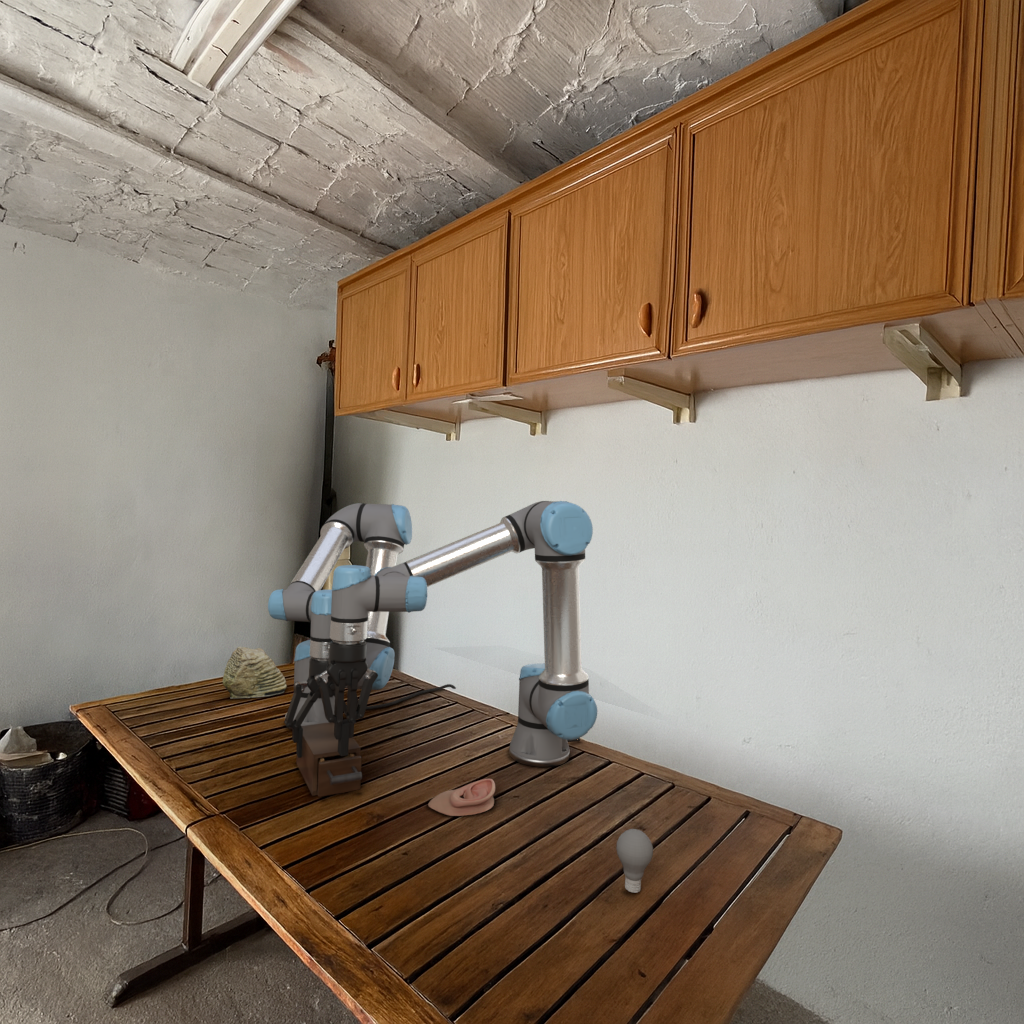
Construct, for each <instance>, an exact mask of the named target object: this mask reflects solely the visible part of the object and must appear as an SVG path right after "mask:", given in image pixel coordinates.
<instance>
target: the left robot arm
mask: <svg viewBox="0 0 1024 1024" xmlns="http://www.w3.org/2000/svg"><path fill="white" fill-rule="evenodd" d="M412 522H413V521H412V516H411V512H410V510H409V509H408V508H407V507H406V506H405V505H400V504H394V503H392V504H386V503H385V504H384V503H364V502H359V503H358V502H357V503H352V504H349V505H347V506H345V507H343V508H341V509H339V510H337V511H336V512H334V513H333V514H332V515H331V516H330V517H329V518H328V519H326V521H325V522H324V524H323V525H322V526H321V528H320V534H319V535H320V537H319V538H318V539H317V541H316V543H315V544H314V546H313V548H312V549H311V551H310V552H309V553H308V555H307V557H306V558H305V560H304V561H303V563H302V564H301V566H300V568H299V569H298V571H297V573H296V574H295V576H294V577H293V579H292V580H291V582H290V583H289V585H288V586H287V588H286V589H284V588H281V589H275V590H273V591H272V592H271V593H270V595H269V598H268V602H267V610H268V615H269V616H270V617H271V618H272V619H273V620H279V621H286V622H291V621H292V622H309V623H310V639H307V640H304V641H302V642H299V643H298V644H297V645H296V647H295V654H294V659H293V661H294V670H293V671H294V672H293V694H292V697H291V699H290V703H289V706H288V709H287V712H286V713H285V716H284V722H283V723H284V725H285V726H286V728H287V729H289V730H291V732H292V733H291V736H292V737H291V739H292V742H293V743H296V745H295V746H296V749H295V754H296V757H297V756H298V758H301V757H302V740H303V728H302V727H301V726H306V725H314V724H321V723H329V722H328V720H327V719H326V717H325V713H324V708H323V703H322V698H321V693H320V688H319V685H318V683H317V682H316V680H315V679H314V677H315V675H320V674H321V673H323V672H324V671H326V666H327V665H328V662H329V643H330V642H331V641H332V640H331V639H330V625H331V602H332V589H322V588H323V587H324V585H325V583H326V581H327V580H328V578H329V576H330V575H331V573H332V571H333V569H334V568H335V566H336V564H337V563H338V561H339V559H340V557H341V555H342V554H343V553H344V550H345V549H348V548H349V547H350V546H351V545H352V543H357V542H360V543H361V542H362V543H363V547H364V548H365V549H366V551H367V556H366V561H365V566H367V567H369V568H370V573H371V575H373V576H374V575H375V574H376V572H377V571H379V570H380V569H382V568H385V567H394V566H396V565H397V561H398V556H400V554H402V553H403V552H404V548H405V545H406V546H407V545H410V544H411V542H412V539H413V523H412ZM389 614H390V612H369V613H368V627H367V638H366V639H365V641H366V643H367V650H366V663H367V665H368V668H369V669H370V670H374V671H375V672H376V673H377V674H378V677H377V678H376V680H375V681H374V683H373V685H372V689H371V691H379V690H382V689H383V688H384V687H385V686H386V685H387V684H388V683H389V681H390V678H391V677H392V676H391V675H392V673H393V670H394V666H395V657H396V655H395V650H394V648H392V647H391V646H390V645H391V641H390V640H389V639H388V637H387V628H388V620H389ZM364 676H365V674H364V675H363V677H362V678H361V679H360V681H359V682H358V685H357V690H362V686H363V683H364V680H365V677H364ZM326 685H327V687H328V692H329V697H330V702H331V706H332V711H333V715H334V707H335V683H334V682H333V680H332V679H331V678H330V676H328V682H327V683H326ZM447 688H451V689H452V690H456V689H457V687H456V686H455V685H454V684H450V683H447V684H444V685H441V686H438V687H433V688H428V689H424V690H420V691H417V692H414V693H411V694H408V695H407V696H404V697H401V698H399V699H396V700H393V701H390V702H385V703H382V704H375V705H367V707H366V710H365V711H369V710H375V709H382V708H386V707H390V706H393V705H397V704H400V703H402V702H405V701H406V700H410V699H412V698H414V697H417V696H419V695H423V694H427V693H432V692H436V691H442V690H444V689H447ZM345 689H348V687H347V686H345ZM358 700H359V697H358V695H357V692H356V707H357V704H358ZM343 714H344V715H345V716H346V715H347V702H346V701H345V700H344V705H343ZM343 720H347V718H343Z"/></svg>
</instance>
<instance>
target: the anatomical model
mask: <svg viewBox="0 0 1024 1024" xmlns="http://www.w3.org/2000/svg"><path fill="white" fill-rule="evenodd" d="M495 793H496V783H495V781H494V779H492V778H483V779H480V780H477V781H473V782H470V783H468V784H465V785H464V786H461V787H459V788H456V789H451V790H446V791H443V792H441V793H439V794H437V795H436V796H434V797H433V798H431V800H429V802H428V804H427V805H428V808H430V809H431V810H434V811H436V812H438V813H439V814H443V815H446V816H450V817H461V816H472V815H478V814H481V813H484V812H487V811H489V810H491V809H492V808H493V807H494V806H495V805H494V804H495V798H494V795H495Z"/></svg>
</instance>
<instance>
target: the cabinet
mask: <svg viewBox="0 0 1024 1024" xmlns="http://www.w3.org/2000/svg"><path fill="white" fill-rule="evenodd" d="M301 727H302V728H303V740H302V757H301V758H298V756H297V755H296V758H295V759H296V761H295V762H296V763H295V764H296V766H297V768H298V770H299V772H300V773H301V776H302V779H303V780H304V782H305V784H306V785H307V788H308V790H309V792H310V794H311V796H312V797H315V796H318V795H317V789H318V785H317V770H318V758H323V757H329V756H336V755H340V754H339V753H338V739H337V740H336V739H335V737H334V723H330V722H329V723H321V724H314V725H306V726H301ZM361 750H362V749H361V746H360V745H359V743H358V742H357V741H356V740H355V738H354V736H353V737H352V738H349V747H348V753H353V754H354V756H361Z"/></svg>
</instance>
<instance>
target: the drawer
mask: <svg viewBox="0 0 1024 1024" xmlns="http://www.w3.org/2000/svg"><path fill="white" fill-rule="evenodd" d="M362 780H363V772H362V756H361V755H360V756H354V754H353V753H348V755H347V756H340V755H336V756H329V757H323V758H318V770H317V785H318V789H317V795H316V796H317V797H318V798H321V797H327V796H332V795H338V794H342V793H343V794H344V793H347V792H354V791H358V790H361V782H362Z"/></svg>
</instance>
